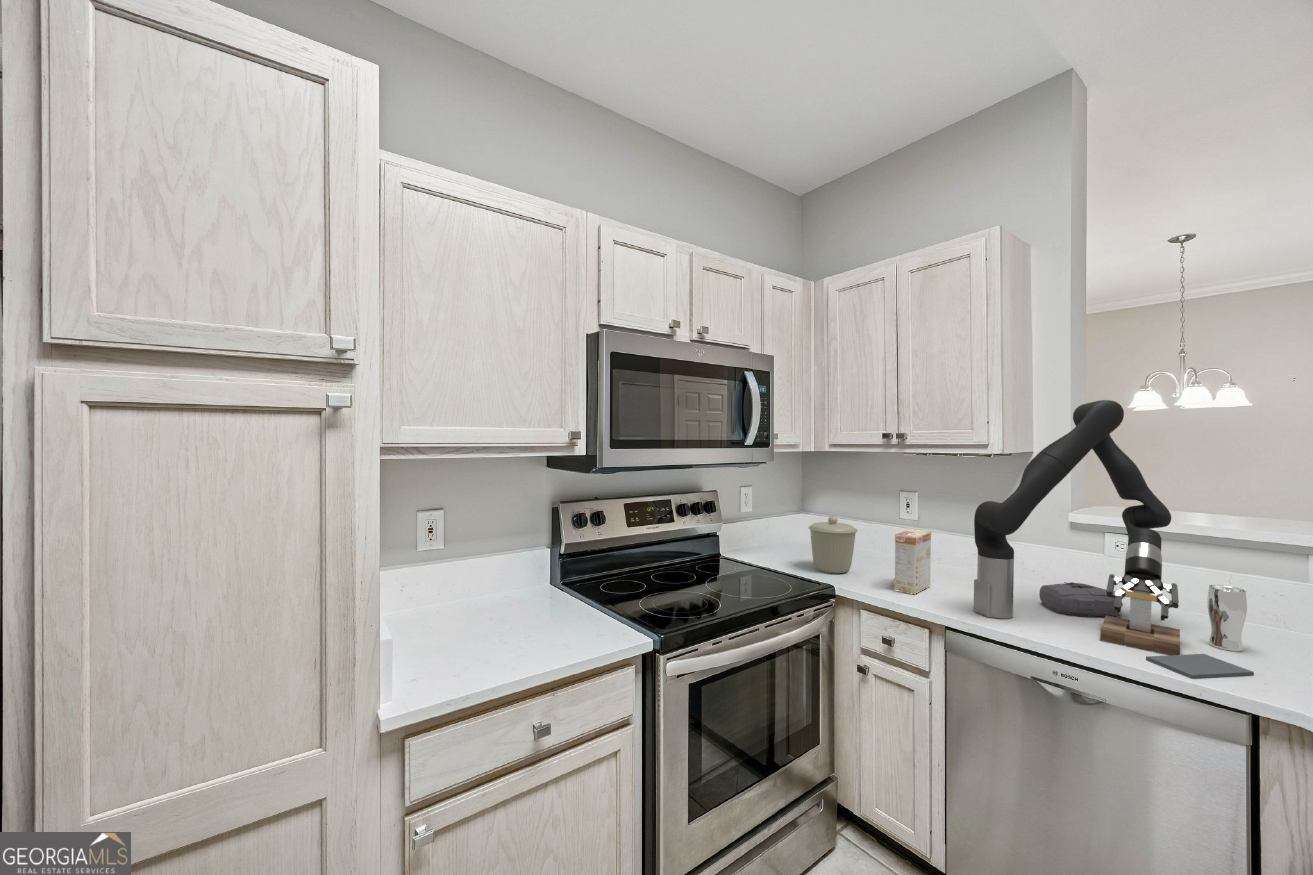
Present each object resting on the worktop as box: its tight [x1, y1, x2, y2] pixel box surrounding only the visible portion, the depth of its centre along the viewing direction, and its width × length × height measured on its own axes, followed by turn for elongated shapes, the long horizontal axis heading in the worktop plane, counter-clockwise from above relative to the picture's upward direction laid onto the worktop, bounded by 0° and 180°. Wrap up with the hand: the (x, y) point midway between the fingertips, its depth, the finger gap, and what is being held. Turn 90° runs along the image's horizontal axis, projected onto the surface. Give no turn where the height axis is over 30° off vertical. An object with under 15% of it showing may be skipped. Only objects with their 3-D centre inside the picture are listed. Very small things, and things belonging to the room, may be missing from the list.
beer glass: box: [1206, 584, 1248, 653], centre depth 139 cm, size 7×7×15 cm
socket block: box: [1099, 616, 1181, 656], centre depth 143 cm, size 15×15×3 cm
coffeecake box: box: [894, 528, 932, 595], centre depth 188 cm, size 15×7×20 cm, turn 134°
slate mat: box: [1145, 653, 1255, 680], centre depth 126 cm, size 16×10×1 cm, turn 97°
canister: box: [808, 515, 859, 574], centre depth 212 cm, size 18×18×21 cm
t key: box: [1125, 590, 1158, 634], centre depth 143 cm, size 6×4×13 cm, turn 46°
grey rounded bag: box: [1038, 581, 1124, 618], centre depth 167 cm, size 15×8×20 cm
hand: (1140, 614), depth 142 cm, fingers open, 8 cm apart
